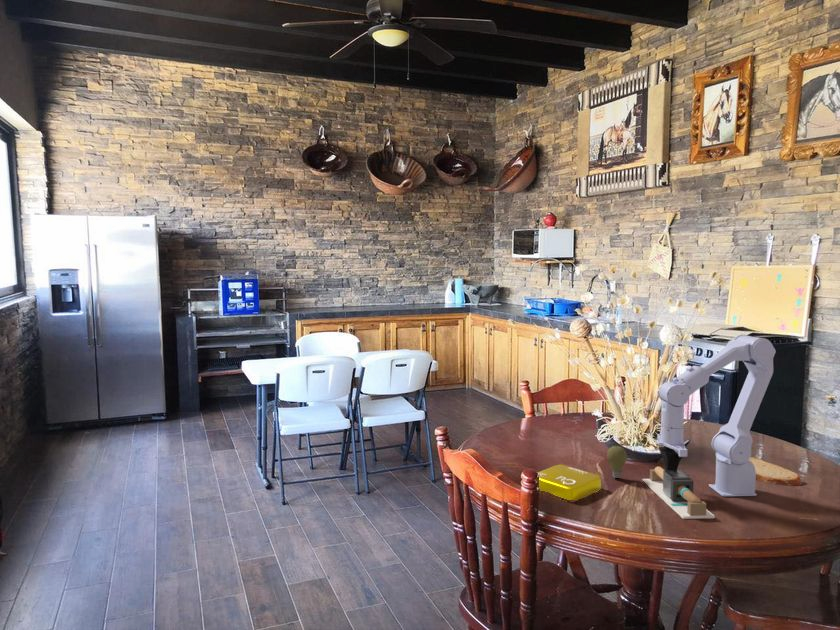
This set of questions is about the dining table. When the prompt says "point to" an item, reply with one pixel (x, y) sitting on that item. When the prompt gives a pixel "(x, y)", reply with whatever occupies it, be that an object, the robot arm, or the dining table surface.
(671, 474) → the sleeve
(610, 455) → the light bulb
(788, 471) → the slice of bread
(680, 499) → the grey square frame
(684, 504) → the pipe rig
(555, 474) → the element tile
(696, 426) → the dining table surface
